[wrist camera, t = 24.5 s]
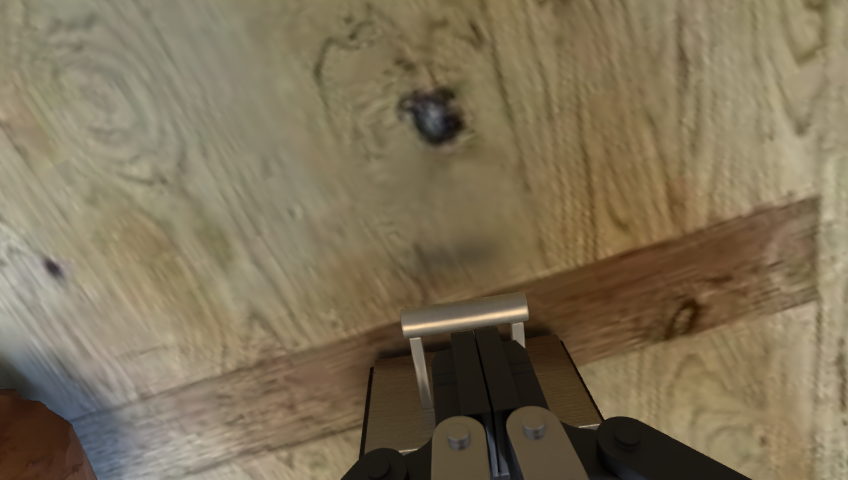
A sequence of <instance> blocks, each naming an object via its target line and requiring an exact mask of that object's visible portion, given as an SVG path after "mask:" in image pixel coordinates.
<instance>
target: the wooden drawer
mask: <svg viewBox="0 0 848 480" xmlns="http://www.w3.org/2000/svg"><path fill="white" fill-rule="evenodd" d="M400 318H401V327H402V332H403V336H404V338H409V341H410V346H411V352H412V355H407V356H400V357H393V358H386V359H379V360H375V363H374V372H373V381H372V391H371V400H370V409H369V418H368V427H367V436H366V445H365V454H366V453H368V452H370V451H372V450H374V449H378V448H391V449H395V450H397V451H398V452H400V453H401V454H402V455H403V456H404V455H406V454H409V453H411V452H413V451H415V450H417V449H419V448H421V447H422V446H424V445H425V444H426V443H427V442H428V441H429V440H430V438H431V437H432V435H433V432H434V430H435V411H434V397H433V383H432V370H431V362H432V360H433V358H434V356H435V354H436V351H435V352H428V353H425V351H424V346H423V340H422V336H425V335H432V334H439V333H446V332H453V331H460V330H467V329H474V328H480V327H487V326H494V325H501V324H508V323H510V334H511V340H516V341H517V342H518V343H520V344H521V345H522V346H523V347H524V348H525V349H526V351H527V353H528V356H529V358H530V361H531V363H532V366H533V368H534V372H535V374H536V376H537V379H538V381H539V384H540V386H541V389H542V391H543V394H544V397H545V399H546V402H547V404H548V407H549V409H550V411H551V412H552V413H554V414H555V415H556V416H557V417H558V419H559V420H560V421H562V422H564V423H566V424H568V425H571V426H574V427H579V428H586V429H593V430H597V428H598V426H599V425H600V423H602V421H601V419H600V417H599V415H598V413H597V411H596V409H595V407H594V405H593V403H592V402H591V400H590V398H589V396H588V394H587V392H586V390H585V388H584V386H583V384H582V382H581V381H580V379H579V377H578V375H577V373H576V371H575V369H574V367H573V365H572V363H571V362H570V360H569V358H568V356H567V354H566V352H565V350H564V348H563V346H562V344H561V342H560V341H559V339H558V337H557V335H556V334H554V335H547V336H540V337H533V338H526V339H525V336H524V323H523V321H528V319H529V310H528V304H527V300H526V297H525V294H524V293H523V292H517V293H510V294H503V295H496V296H489V297H482V298H475V299H468V300H462V301H455V302H448V303H441V304H434V305H427V306H420V307H414V308H407V309H401V311H400ZM365 454H364V455H365ZM496 456H497V455H496Z"/></svg>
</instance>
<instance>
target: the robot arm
mask: <svg viewBox="0 0 848 480" xmlns="http://www.w3.org/2000/svg"><path fill="white" fill-rule="evenodd" d="M474 335H475V339H474ZM474 335H473V331H472V330H469V331H462V332H455V333H451V340H452V347H453V349H448V350H441V351H436V354H435V356H434V358H433V360H432V362H431V370H432V383H433V397H434V411H435V430H434V432H433V435H432V437H431V438H430V440H429V441H428V442H427V443H426V444H425V445H424V446H422V447H421V448H419V449H417V450H415V451H413V452H411V453H409V454H406V455H404V456H403V455H402V454H401V453H400V452H398V451H397V450H395V449H391V448H378V449H374V450H372V451H370V452H368V453H366V454H365V455H363V456H362V457H361V458H360V459H359V460H358V461H357V462H356V463H355V464H354V465H353V466H352V468H351V469H350V470H349V471H348V472H347V473H346V474H345V475H344V476H343V477H342V478H341V480H494V477H495V476H499V475H498V467H497V460H498V464H499V469H500V473H501V475H510V479H511V480H752V479H750V478H748V477H746V476H744V475H742V474H740V473H738V472H736V471H735V470H733V469H731V468H729V467H727V466H725V465H723V464H721V463H719V462H717V461H715V460H713V459H712V458H710V457H708V456H706V455H704V454H702V453H700V452H698V451H696V450H694V449H692V448H690V447H689V446H687V445H685V444H683V443H681V442H679V441H677V440H675V439H673V438H671V437H669V436H668V435H666V434H664V433H662V432H660V431H658V430H656V429H654V428H652V427H650V426H648V425H646V424H645V423H643V422H641V421H638V420H636V419H633V418H629V417H621V416H620V417H611V418H608V419H606V420H604V421H603V422H602V423H600V425H599V426H598V428H597V430H593V429H586V428H579V427H574V426H571V425H568V424H566V423H564V422H562V421H560V420H559V419H558V417H557V416H556V415H555V414H554V413H552V412H551V411H550V409H549V407H548V404H547V402H546V399H545V397H544V394H543V391H542V389H541V386H540V384H539V381H538V379H537V376H536V374H535V372H534V368H533V366H532V363H531V361H530V358H529V356H528V353H527V351H526V349H525V348H524V347H523V346H522V345H521V344H520V343H518V342H517V341H516V340H511V341H504V342H501V339H500V336H499V333H498V330H497V327H489V328H482V329H475V330H474ZM496 455H497V458H496Z"/></svg>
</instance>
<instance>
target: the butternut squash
mask: <svg viewBox="0 0 848 480" xmlns="http://www.w3.org/2000/svg"><path fill="white" fill-rule="evenodd" d="M0 480H97V477H96V475H95V473H94V471H93V468H92V466H91V464H90V462H89V460H88V458H87V456H86V454H85V452H84V449H83V447H82V445H81V443H80V441H79V439H78V437H77V435H76V432H75V430H74V428H73V426H72V424H71V423H70V422H68V421H67V420H65V419H64V418H62V417H61V416H59V415H57V414H56V413H54V412H53V411H51V410H50V409H48V408H47V407H46V405H44V404H43V403H41V402H40V401H32V400H27V399H24V398H22V397H21V396H20V395H19V394H18V392H17V391H16V390H15V389H0Z"/></svg>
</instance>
